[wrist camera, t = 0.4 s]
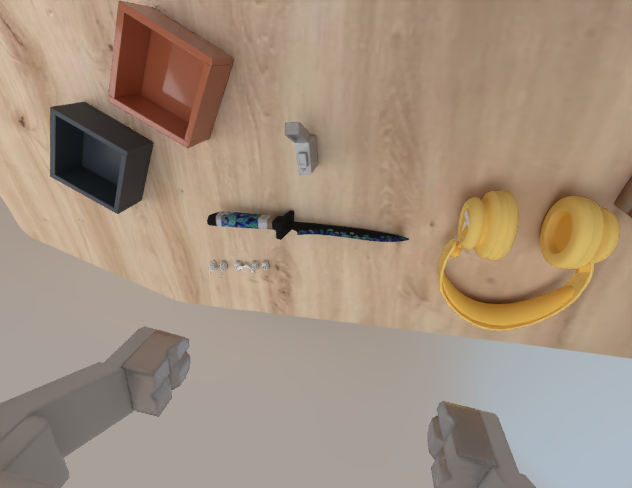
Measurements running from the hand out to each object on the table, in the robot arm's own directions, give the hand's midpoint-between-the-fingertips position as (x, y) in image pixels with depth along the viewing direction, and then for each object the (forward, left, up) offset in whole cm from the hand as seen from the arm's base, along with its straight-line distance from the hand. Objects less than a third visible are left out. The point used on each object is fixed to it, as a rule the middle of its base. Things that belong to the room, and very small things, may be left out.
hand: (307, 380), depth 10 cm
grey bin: (+24, -34, -37) cm, 56 cm away
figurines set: (+32, -8, -37) cm, 50 cm away
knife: (+16, -1, -37) cm, 40 cm away
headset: (+4, +25, -37) cm, 45 cm away
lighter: (+5, -7, -37) cm, 38 cm away
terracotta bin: (+7, -26, -37) cm, 46 cm away
